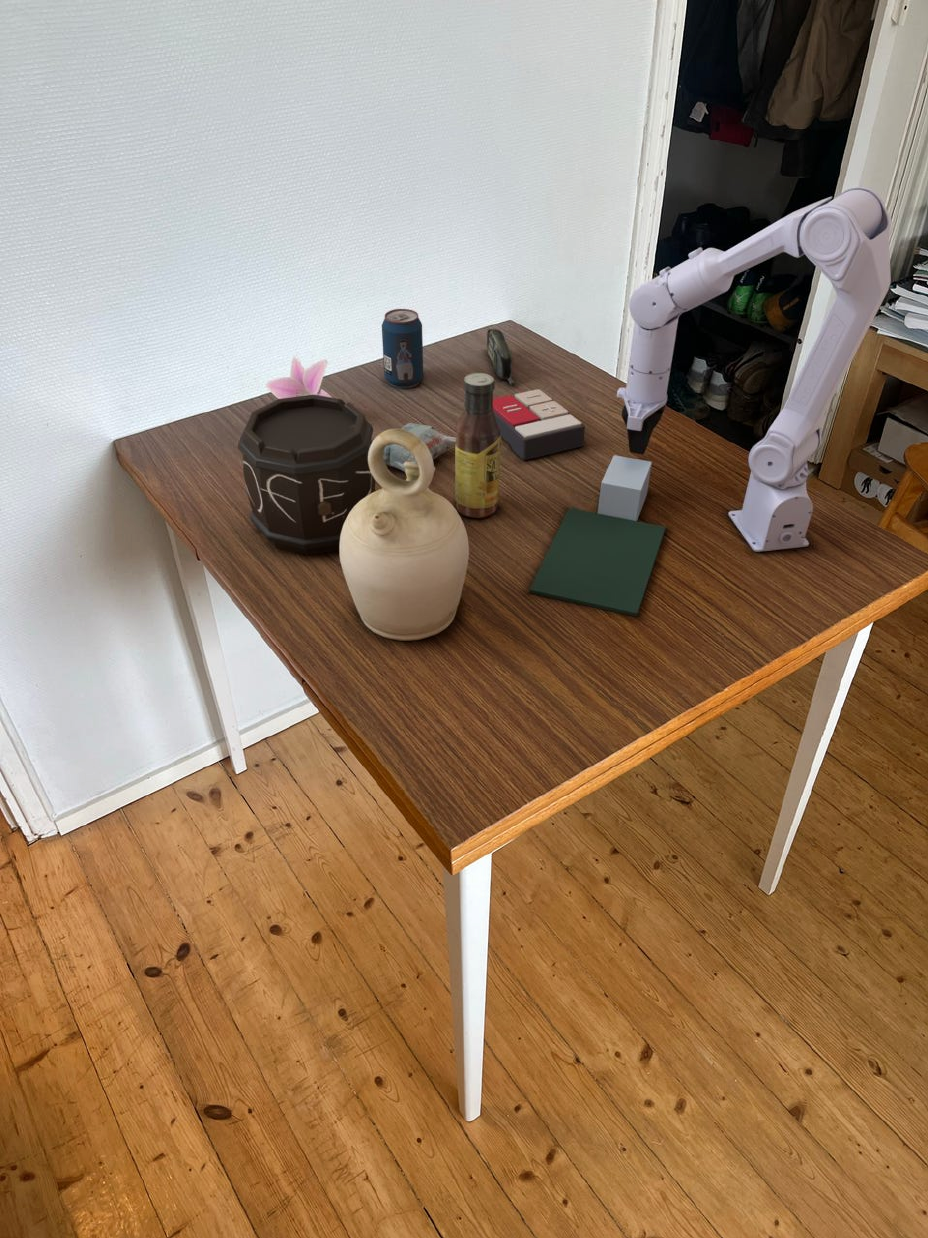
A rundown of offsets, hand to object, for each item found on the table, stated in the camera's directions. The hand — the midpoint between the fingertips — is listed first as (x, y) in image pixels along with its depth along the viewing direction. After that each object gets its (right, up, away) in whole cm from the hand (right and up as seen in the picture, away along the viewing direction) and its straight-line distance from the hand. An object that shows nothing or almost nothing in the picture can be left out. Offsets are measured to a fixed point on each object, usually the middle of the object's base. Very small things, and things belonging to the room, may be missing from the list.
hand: (637, 451), depth 137 cm
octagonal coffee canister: (-46, -12, -7) cm, 48 cm away
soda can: (-36, +17, +27) cm, 49 cm away
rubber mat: (-7, -17, -13) cm, 23 cm away
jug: (-33, -24, -21) cm, 46 cm away
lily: (-52, +8, +17) cm, 55 cm away
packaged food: (-33, -1, +6) cm, 34 cm away
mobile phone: (-19, +21, +31) cm, 42 cm away
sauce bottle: (-24, -9, -3) cm, 26 cm away
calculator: (-15, +5, +13) cm, 21 cm away
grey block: (-3, -6, -5) cm, 8 cm away
